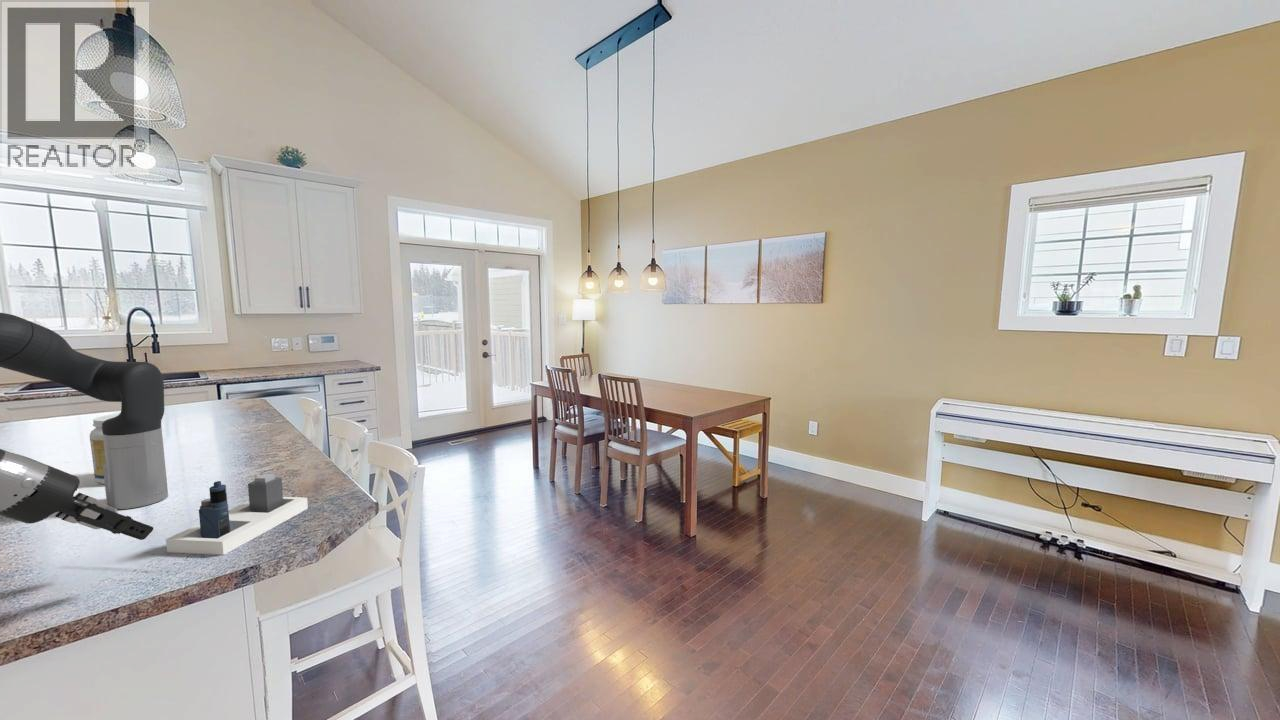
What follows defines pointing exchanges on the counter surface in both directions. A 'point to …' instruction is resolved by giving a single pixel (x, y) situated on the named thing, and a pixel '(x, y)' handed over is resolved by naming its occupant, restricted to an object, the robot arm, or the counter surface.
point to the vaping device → (214, 513)
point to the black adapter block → (265, 493)
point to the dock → (236, 529)
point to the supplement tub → (99, 447)
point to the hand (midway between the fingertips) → (135, 528)
